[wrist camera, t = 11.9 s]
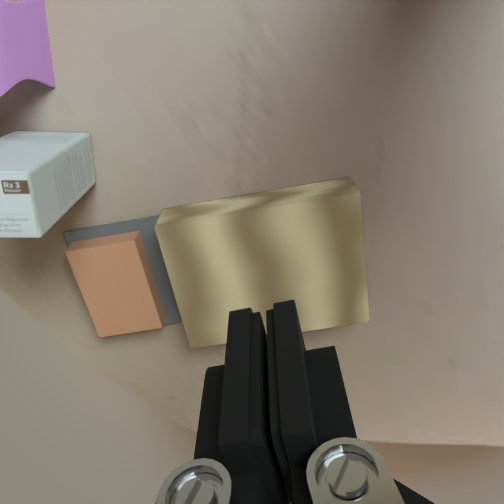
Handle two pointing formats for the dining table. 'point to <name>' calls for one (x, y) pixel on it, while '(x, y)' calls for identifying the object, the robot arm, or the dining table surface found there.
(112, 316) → the tile
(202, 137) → the dining table surface
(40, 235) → the skincare box
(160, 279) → the mat
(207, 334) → the board
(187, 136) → the dining table surface
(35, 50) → the purple flanged fixture
